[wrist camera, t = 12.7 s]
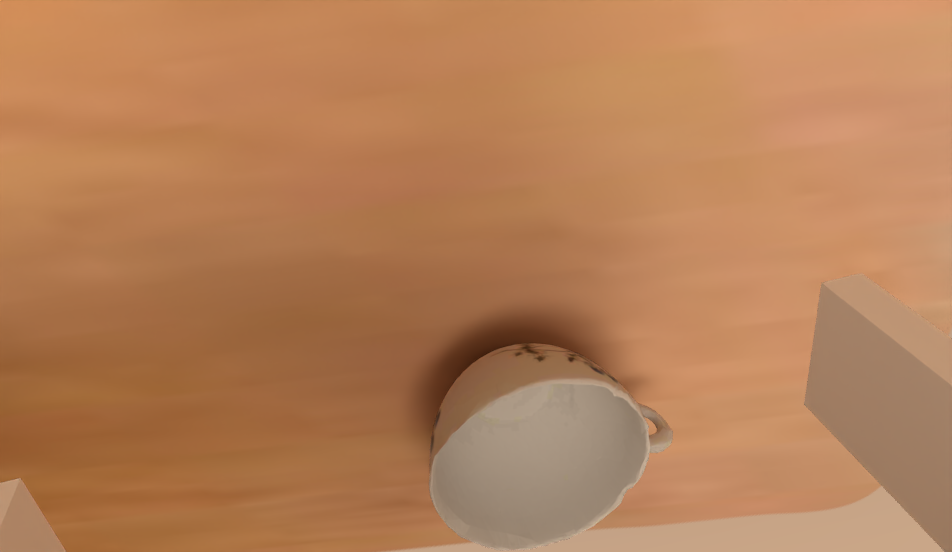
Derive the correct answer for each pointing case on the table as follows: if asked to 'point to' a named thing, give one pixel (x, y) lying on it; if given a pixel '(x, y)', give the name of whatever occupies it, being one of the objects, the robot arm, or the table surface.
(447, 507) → the teacup
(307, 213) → the table surface
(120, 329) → the table surface
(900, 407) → the robot arm
